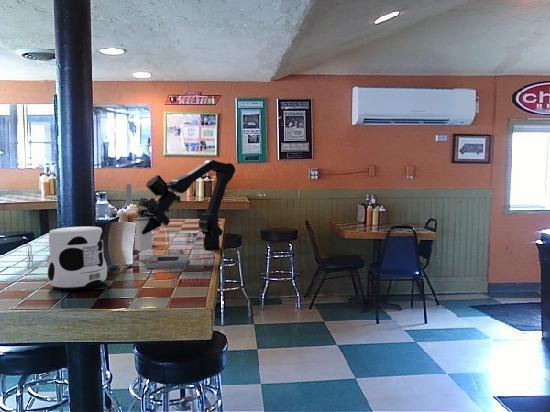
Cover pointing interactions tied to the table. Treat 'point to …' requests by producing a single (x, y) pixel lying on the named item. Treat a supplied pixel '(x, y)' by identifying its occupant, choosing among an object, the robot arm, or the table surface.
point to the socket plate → (167, 261)
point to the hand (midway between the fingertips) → (139, 233)
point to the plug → (142, 240)
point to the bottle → (128, 196)
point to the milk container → (76, 258)
